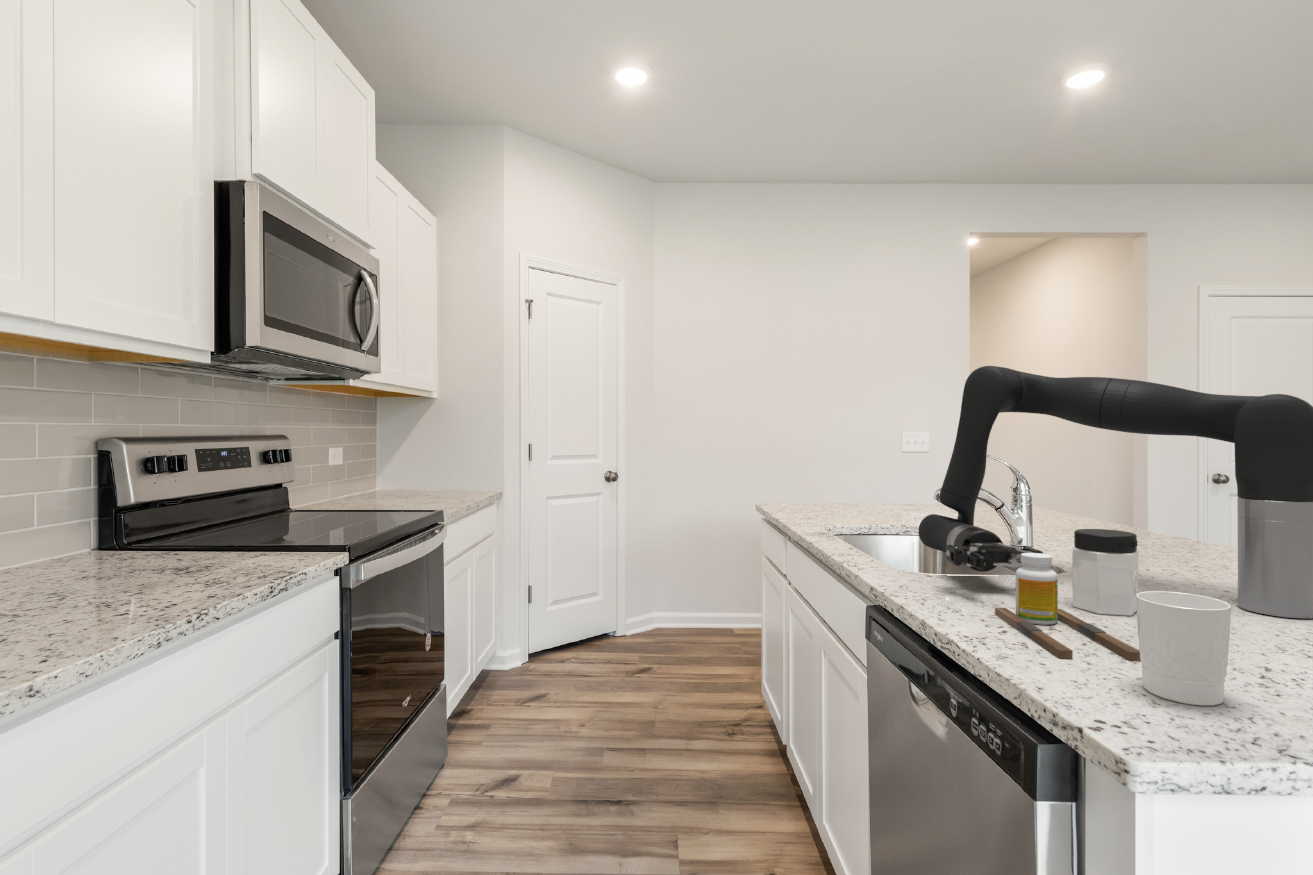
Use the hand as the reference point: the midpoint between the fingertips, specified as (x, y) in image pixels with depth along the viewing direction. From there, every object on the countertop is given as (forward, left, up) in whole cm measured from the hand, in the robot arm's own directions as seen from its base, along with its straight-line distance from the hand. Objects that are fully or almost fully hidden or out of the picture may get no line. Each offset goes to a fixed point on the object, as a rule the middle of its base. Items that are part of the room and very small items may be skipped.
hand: (1010, 563), depth 107 cm
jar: (-11, +8, -7) cm, 15 cm away
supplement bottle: (+5, +8, -7) cm, 12 cm away
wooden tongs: (+8, +14, -7) cm, 18 cm away
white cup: (+16, +33, -7) cm, 37 cm away
